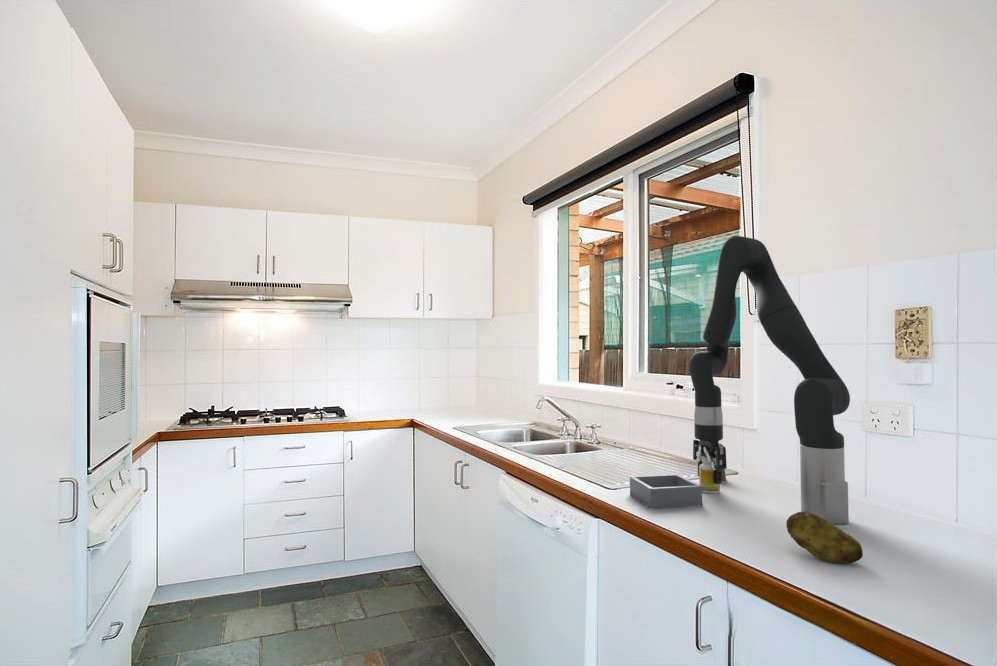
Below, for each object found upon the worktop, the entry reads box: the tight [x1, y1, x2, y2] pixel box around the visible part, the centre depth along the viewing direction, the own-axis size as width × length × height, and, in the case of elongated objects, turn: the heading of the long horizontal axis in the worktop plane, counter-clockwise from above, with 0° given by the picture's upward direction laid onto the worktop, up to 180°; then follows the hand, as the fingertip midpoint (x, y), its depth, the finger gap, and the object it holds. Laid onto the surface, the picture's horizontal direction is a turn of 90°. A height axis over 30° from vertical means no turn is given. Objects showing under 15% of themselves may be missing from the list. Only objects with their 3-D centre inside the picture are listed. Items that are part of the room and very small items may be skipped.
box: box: [629, 473, 703, 509], centre depth 159 cm, size 14×14×5 cm
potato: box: [785, 511, 864, 564], centre depth 116 cm, size 8×13×8 cm, turn 23°
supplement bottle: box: [698, 456, 721, 494], centre depth 167 cm, size 5×5×10 cm
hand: (709, 480), depth 167 cm, fingers open, 8 cm apart
